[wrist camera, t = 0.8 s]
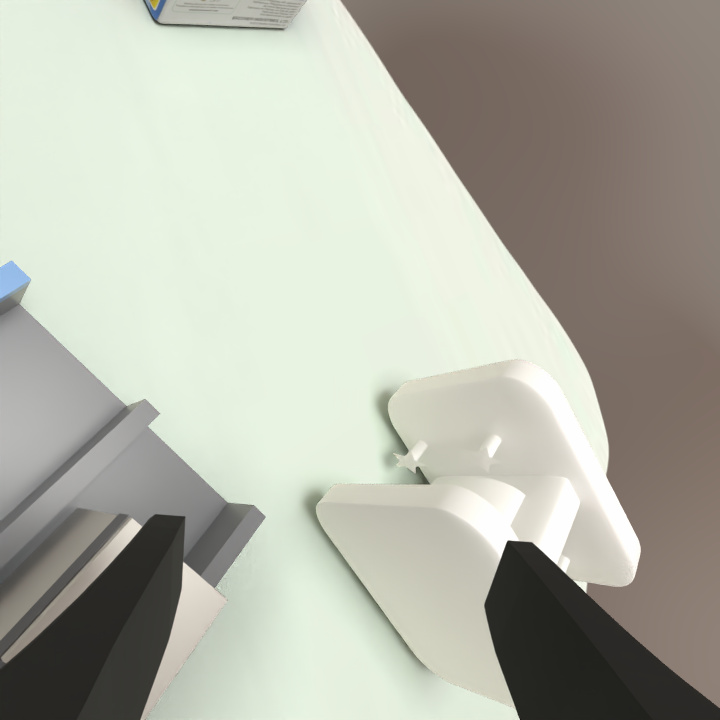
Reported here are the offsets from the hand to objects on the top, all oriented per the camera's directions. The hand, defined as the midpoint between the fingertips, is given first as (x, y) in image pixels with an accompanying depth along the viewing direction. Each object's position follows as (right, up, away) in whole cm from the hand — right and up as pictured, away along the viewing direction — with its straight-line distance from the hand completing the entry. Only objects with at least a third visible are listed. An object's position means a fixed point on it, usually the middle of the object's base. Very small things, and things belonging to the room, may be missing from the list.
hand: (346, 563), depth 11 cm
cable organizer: (+3, -6, +21) cm, 22 cm away
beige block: (-10, -4, +8) cm, 13 cm away
